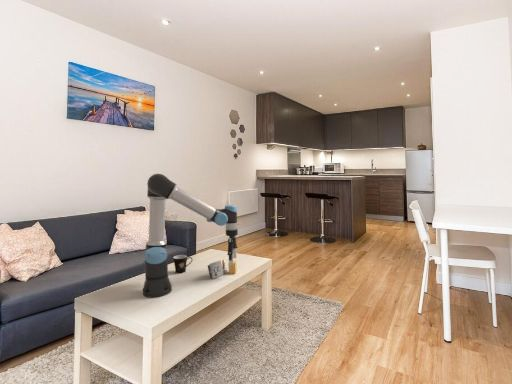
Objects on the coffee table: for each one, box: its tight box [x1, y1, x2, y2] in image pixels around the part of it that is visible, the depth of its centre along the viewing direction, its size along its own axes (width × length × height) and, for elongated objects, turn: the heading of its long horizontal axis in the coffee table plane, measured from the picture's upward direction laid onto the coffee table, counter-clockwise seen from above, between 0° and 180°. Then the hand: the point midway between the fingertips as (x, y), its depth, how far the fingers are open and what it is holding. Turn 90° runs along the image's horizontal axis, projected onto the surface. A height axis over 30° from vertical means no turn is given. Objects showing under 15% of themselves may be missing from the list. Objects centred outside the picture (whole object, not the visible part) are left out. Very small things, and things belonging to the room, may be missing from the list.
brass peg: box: [221, 259, 226, 269], centre depth 187 cm, size 2×2×6 cm
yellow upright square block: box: [227, 260, 237, 275], centre depth 184 cm, size 4×4×7 cm
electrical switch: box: [207, 260, 225, 280], centre depth 178 cm, size 9×5×9 cm, turn 141°
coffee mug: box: [173, 254, 193, 274], centre depth 187 cm, size 12×9×10 cm
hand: (232, 261), depth 184 cm, fingers open, 13 cm apart
